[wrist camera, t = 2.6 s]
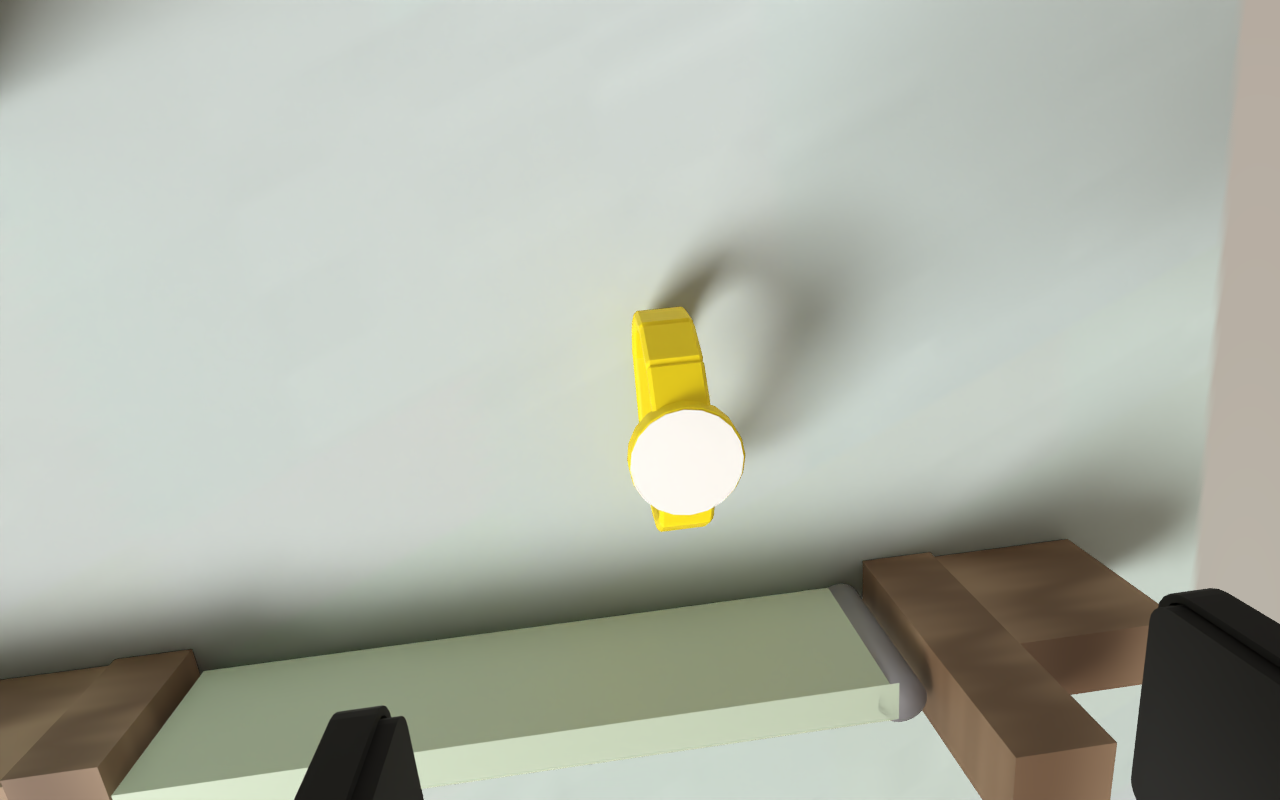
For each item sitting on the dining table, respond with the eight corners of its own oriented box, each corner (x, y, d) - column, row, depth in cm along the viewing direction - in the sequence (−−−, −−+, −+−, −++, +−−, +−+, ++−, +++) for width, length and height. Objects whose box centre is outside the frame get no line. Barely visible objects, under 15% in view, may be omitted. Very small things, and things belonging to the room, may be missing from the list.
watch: (706, 467, 24) (749, 571, 18) (621, 477, 24) (640, 585, 18) (696, 286, 22) (743, 342, 16) (603, 296, 22) (618, 356, 16)
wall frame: (1068, 534, 26) (1321, 711, 17) (1062, 593, 26) (1303, 794, 18) (-150, 694, 23) (-578, 1000, 14) (-120, 755, 24) (-512, 1082, 15)
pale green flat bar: (858, 581, 25) (927, 675, 20) (858, 644, 26) (925, 749, 21) (202, 668, 23) (110, 792, 19) (223, 732, 24) (138, 867, 19)
